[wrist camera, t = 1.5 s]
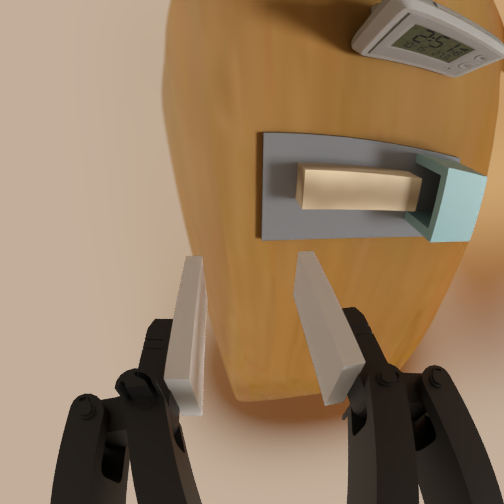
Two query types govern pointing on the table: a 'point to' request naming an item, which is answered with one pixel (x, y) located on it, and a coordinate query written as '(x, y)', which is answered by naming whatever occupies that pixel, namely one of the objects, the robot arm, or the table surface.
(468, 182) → the end cap
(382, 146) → the mat
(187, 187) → the table surface
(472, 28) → the digital clock
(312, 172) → the slat
